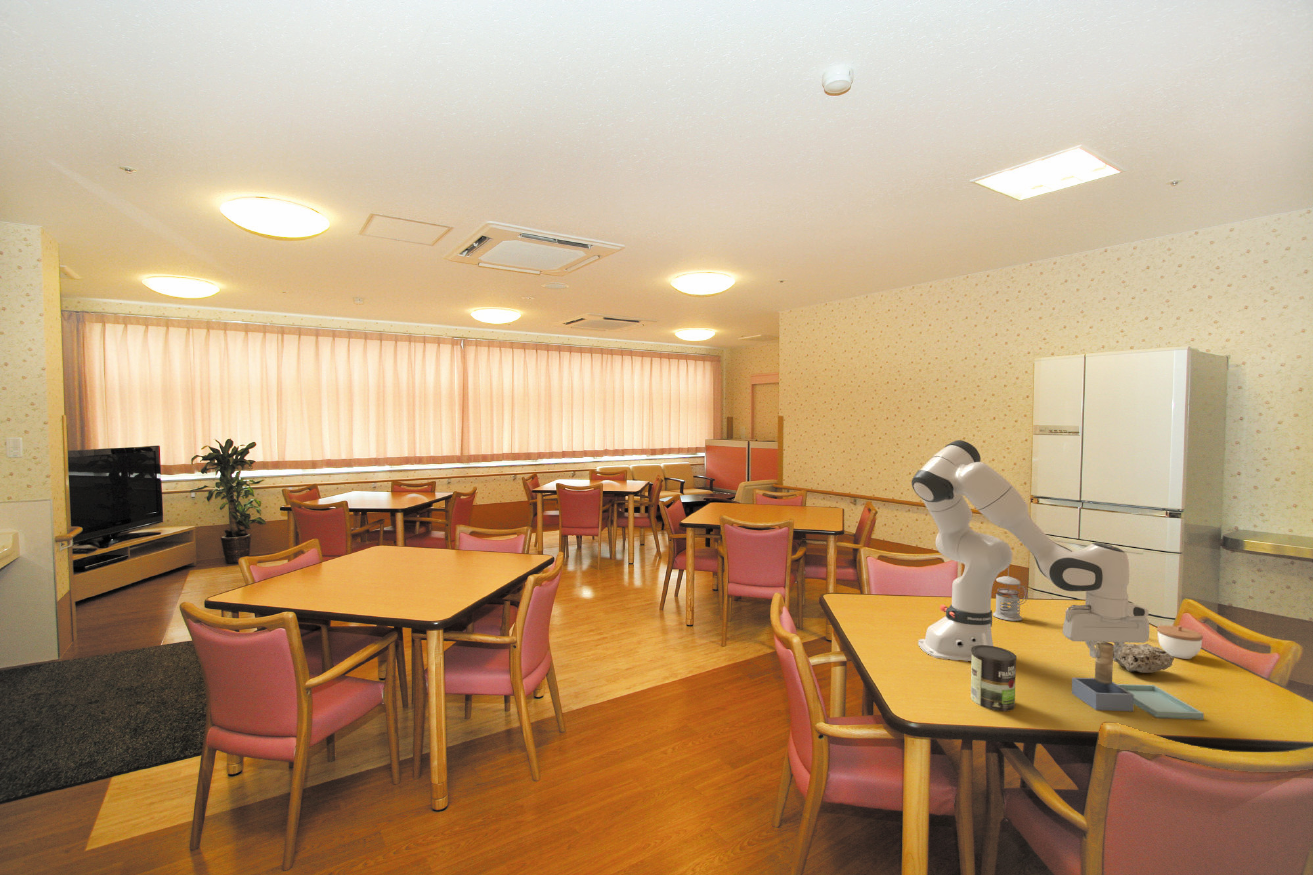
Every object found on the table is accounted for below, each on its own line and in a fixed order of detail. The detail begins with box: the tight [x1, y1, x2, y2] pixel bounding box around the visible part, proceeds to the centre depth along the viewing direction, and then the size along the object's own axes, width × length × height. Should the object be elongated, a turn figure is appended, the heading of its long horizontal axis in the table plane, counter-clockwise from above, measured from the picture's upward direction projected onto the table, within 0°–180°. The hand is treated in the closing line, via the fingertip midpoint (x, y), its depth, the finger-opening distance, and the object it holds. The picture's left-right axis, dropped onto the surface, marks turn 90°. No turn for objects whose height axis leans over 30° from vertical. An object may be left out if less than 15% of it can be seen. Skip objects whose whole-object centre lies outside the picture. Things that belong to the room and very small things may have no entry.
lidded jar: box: [1156, 624, 1204, 660], centre depth 183 cm, size 11×11×9 cm
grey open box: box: [1071, 677, 1135, 712], centre depth 151 cm, size 9×9×5 cm
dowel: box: [1094, 642, 1114, 684], centre depth 151 cm, size 4×4×10 cm
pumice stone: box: [1113, 643, 1175, 674], centre depth 170 cm, size 14×12×8 cm
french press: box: [992, 565, 1029, 622], centre depth 218 cm, size 10×12×25 cm
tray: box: [1116, 683, 1205, 721], centre depth 150 cm, size 11×15×2 cm
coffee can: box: [970, 645, 1017, 712], centre depth 150 cm, size 10×10×14 cm
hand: (1104, 657), depth 151 cm, fingers closed on dowel, 4 cm apart
